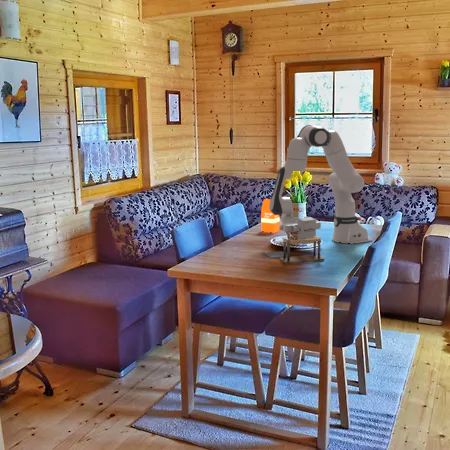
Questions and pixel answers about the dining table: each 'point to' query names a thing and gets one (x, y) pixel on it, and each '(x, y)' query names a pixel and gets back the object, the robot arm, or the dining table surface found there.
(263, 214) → the orange juice
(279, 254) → the mat
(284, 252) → the wooden post stand
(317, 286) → the dining table surface
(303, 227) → the supplement box
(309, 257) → the brown board
